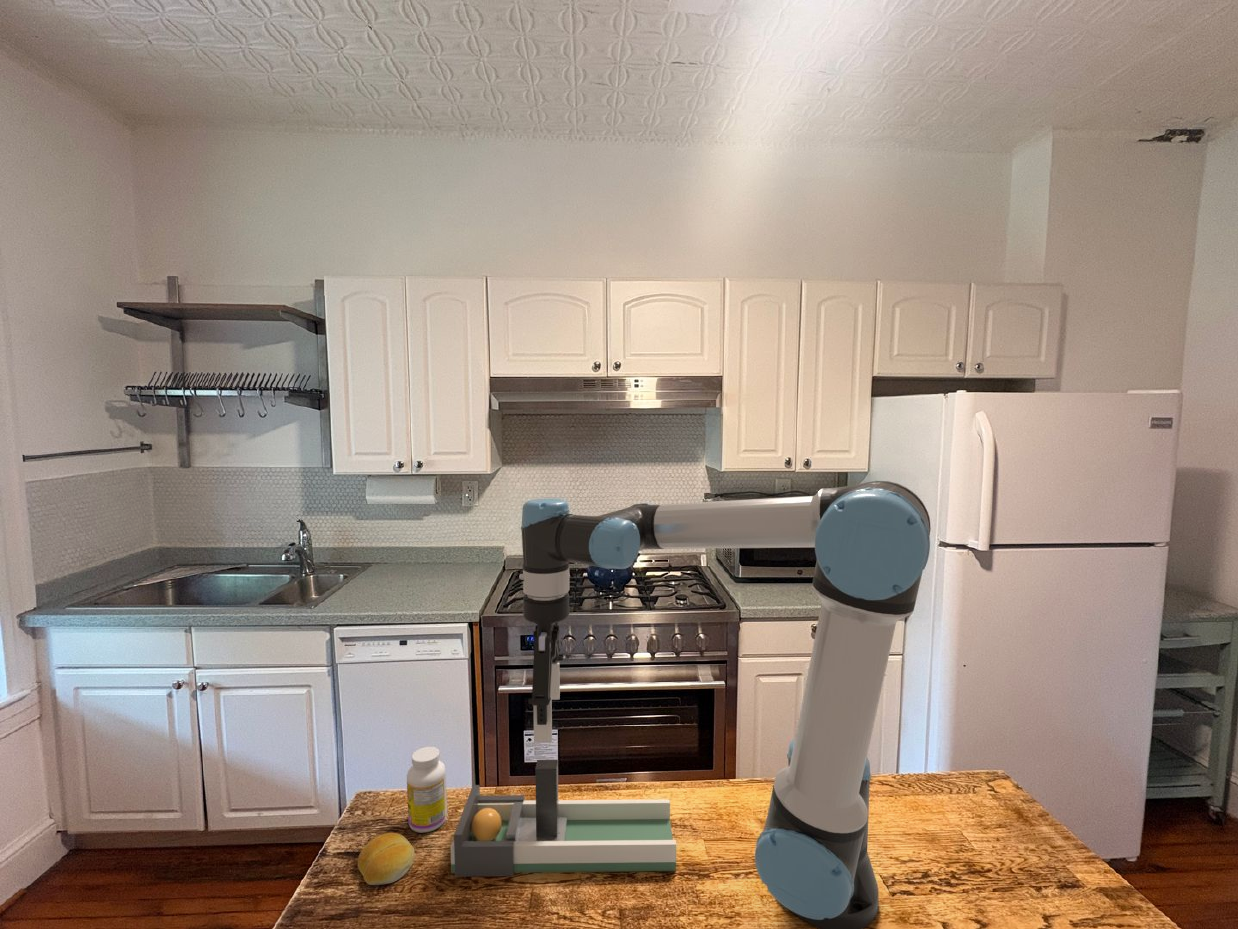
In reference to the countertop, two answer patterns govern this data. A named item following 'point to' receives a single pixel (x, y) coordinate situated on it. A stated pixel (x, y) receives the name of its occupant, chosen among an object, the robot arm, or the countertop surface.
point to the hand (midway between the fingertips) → (547, 718)
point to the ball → (486, 825)
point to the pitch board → (596, 837)
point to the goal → (482, 842)
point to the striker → (540, 809)
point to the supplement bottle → (426, 791)
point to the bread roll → (385, 859)
